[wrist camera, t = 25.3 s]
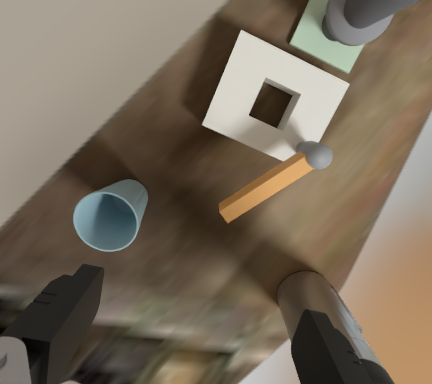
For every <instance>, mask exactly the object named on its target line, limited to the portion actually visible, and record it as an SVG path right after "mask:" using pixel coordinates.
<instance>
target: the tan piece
mask: <svg viewBox="0 0 432 384" xmlns="http://www.w3.org/2000/svg"><path fill="white" fill-rule="evenodd" d="M332 157H333V154H332V151H331V149H330V148H329V147H328V146H326V145H324V144H321V143H318V142H315V141H306V142H304V143H303V144H302V145H301V146H300V148H299V150H298V152H297V153H296V154H294V155H293V156H291V157H290V158H288V159H287V160H285V161H283V162H282V163H280V164H279V165H277V166H276V167H274V168H273V169H271V170H270V171H268V172H267V173H265V174H263V175H262V176H260V177H259V178H257V179H256V180H254V181H253V182H251V183H250V184H248V185H247V186H245V187H243V188H242V189H240V190H239V191H237V192H236V193H234V194H233V195H231V196H230V197H228V198H227V199H225V200H223V201H222V202H220V203H219V212H220V214H221V215H222V216H223V218H224V219H225V220H226V222H227V223H229V222H230V221H232V220H234V219H235V218H237V217H238V216H240V215H242V214H243V213H245V212H246V211H248V210H249V209H251V208H253V207H254V206H256V205H257V204H259V203H260V202H262V201H264V200H265V199H267V198H268V197H270V196H272V195H273V194H275V193H276V192H278V191H279V190H281V189H283V188H284V187H286V186H287V185H289V184H291V183H292V182H294V181H295V180H297V179H298V178H300V177H302V176H303V175H305V174H306V173H308V172H309V171H311V170H313V169H314V168H315V169H323V168H325V167H327V166H328V165H329V164H330V163H331V161H332Z"/></svg>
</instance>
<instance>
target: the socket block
mask: <svg viewBox="0 0 432 384" xmlns="http://www.w3.org/2000/svg"><path fill="white" fill-rule="evenodd" d="M263 82H265V83H267V84H270V85H272V86H274V87H276V88H278V89H280V90H282V91H284V92H286V93H288V94H290V95H293V96H292V98H291V100H290V102H289V104H288V106H287V108H286V110H285V112H284V114H283V116H282V118H281V120H280V123H279V125H278V127H277V128H275V127H272V126H270V125H268V124H266V123H264V122H262V121H259V120H257V119H255V118H253V117H251V116H249V113H250V111H251V109H252V106H253V104H254V102H255V100H256V98H257V95H258V93H259V91H260V89H261V87H262V84H263ZM349 85H350V84H349V83H347V82H345V81H343V80H341V79H339V78H337V77H335V76H333V75H331V74H329V73H327V72H325V71H323V70H321V69H319V68H317V67H315V66H313V65H311V64H309V63H307V62H305V61H303V60H301V59H299V58H297V57H295V56H293V55H291V54H289V53H287V52H285V51H283V50H281V49H279V48H277V47H275V46H273V45H271V44H269V43H267V42H265V41H263V40H261V39H259V38H257V37H255V36H253V35H251V34H249V33H247V32H245V31H243V30H241V32H240V34H239V36H238V39H237V41H236V44H235V46H234V49H233V51H232V53H231V56H230V58H229V61H228V63H227V66H226V68H225V70H224V73H223V75H222V78H221V80H220V83H219V85H218V87H217V90H216V92H215V95H214V97H213V100H212V102H211V104H210V107H209V109H208V112H207V114H206V117H205V119H204V121H203V124H202V125H203V126H205V127H207V128H210V129H212V130H214V131H216V132H219V133H221V134H223V135H225V136H228V137H230V138H232V139H234V140H237V141H239V142H241V143H243V144H246V145H248V146H250V147H252V148H255V149H257V150H259V151H261V152H264V153H266V154H268V155H270V156H273V157H275V158H277V159H279V160H282V161H285V160H287V159H288V158H290V157H291V156H293V155H294V154H296V153H297V152H298V150H299V148H300V146H301V145H302V144H303V143H304V142H306V141H315V142H319V141H320V139H321V137H322V135H323V133H324V131H325V129H326V128H327V126H328V124H329V122H330V120H331V118H332V116H333V114H334V113H335V111H336V109H337V107H338V105H339V103H340V101H341V99H342V98H343V96H344V94H345V92H346V90H347V88H348V86H349Z"/></svg>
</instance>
